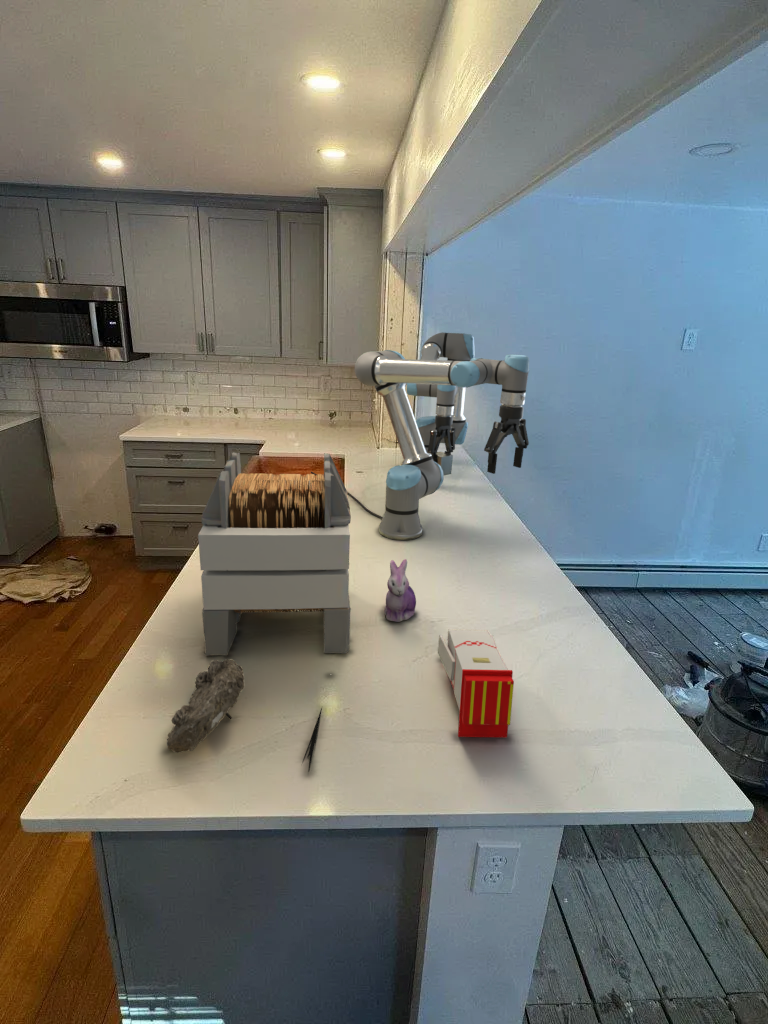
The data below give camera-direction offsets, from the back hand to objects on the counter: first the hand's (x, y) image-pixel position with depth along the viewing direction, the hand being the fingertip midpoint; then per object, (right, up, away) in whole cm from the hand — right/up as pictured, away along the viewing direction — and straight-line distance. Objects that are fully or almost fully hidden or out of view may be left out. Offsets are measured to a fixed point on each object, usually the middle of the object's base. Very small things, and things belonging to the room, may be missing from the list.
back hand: (440, 467), depth 249 cm
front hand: (+15, -6, -62) cm, 64 cm away
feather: (-37, -59, -141) cm, 157 cm away
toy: (-7, -57, -131) cm, 143 cm away
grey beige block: (0, -3, +1) cm, 3 cm away
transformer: (-50, -46, -106) cm, 126 cm away
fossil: (-57, -59, -141) cm, 163 cm away
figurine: (-21, -46, -102) cm, 114 cm away
